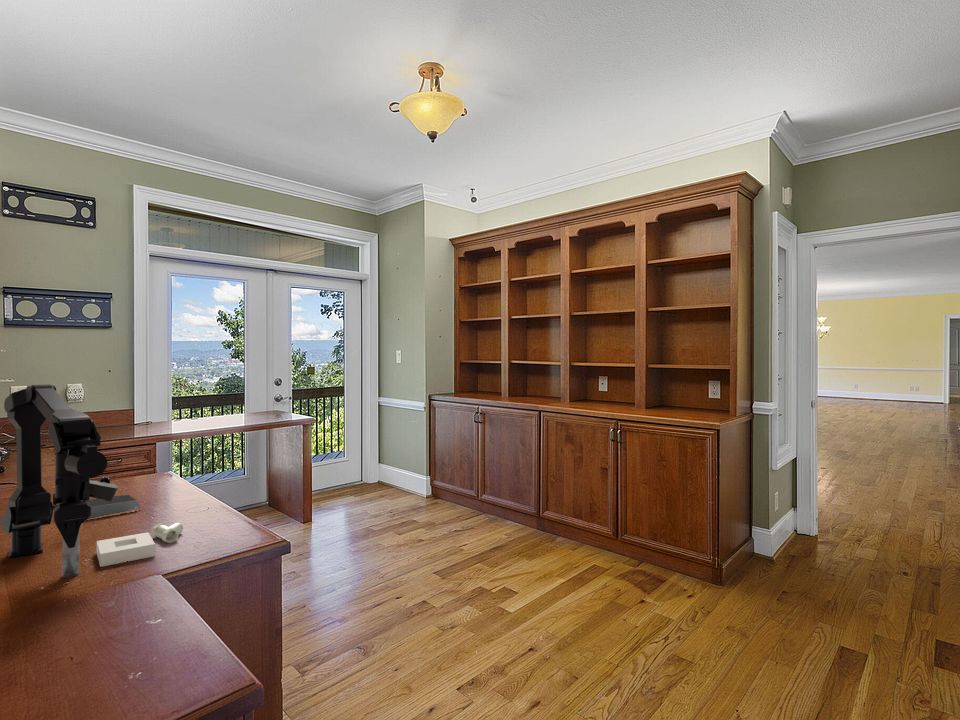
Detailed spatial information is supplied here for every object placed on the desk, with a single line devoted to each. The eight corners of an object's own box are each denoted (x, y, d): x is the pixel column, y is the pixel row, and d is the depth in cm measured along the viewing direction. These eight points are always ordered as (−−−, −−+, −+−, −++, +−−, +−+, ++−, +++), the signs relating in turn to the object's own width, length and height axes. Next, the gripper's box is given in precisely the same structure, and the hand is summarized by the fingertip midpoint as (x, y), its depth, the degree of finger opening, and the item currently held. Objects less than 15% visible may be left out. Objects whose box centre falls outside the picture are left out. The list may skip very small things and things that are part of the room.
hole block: (96, 553, 132) (96, 541, 132) (148, 543, 139) (148, 532, 139) (100, 566, 123) (100, 554, 123) (155, 556, 130) (155, 543, 130)
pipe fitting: (178, 533, 149) (151, 538, 143) (179, 519, 149) (152, 523, 144) (190, 540, 144) (164, 545, 139) (192, 525, 144) (165, 529, 139)
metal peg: (61, 574, 119) (62, 529, 119) (78, 571, 121) (79, 527, 121) (62, 578, 117) (62, 533, 117) (79, 575, 119) (79, 530, 119)
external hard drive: (142, 513, 168) (142, 500, 168) (65, 526, 154) (65, 512, 154) (131, 504, 177) (131, 492, 177) (57, 516, 163) (57, 503, 163)
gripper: (119, 475, 117) (118, 545, 117) (111, 461, 131) (110, 524, 131) (54, 482, 110) (53, 557, 110) (53, 466, 124) (52, 533, 124)
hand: (70, 541), depth 119 cm, fingers open, 9 cm apart
